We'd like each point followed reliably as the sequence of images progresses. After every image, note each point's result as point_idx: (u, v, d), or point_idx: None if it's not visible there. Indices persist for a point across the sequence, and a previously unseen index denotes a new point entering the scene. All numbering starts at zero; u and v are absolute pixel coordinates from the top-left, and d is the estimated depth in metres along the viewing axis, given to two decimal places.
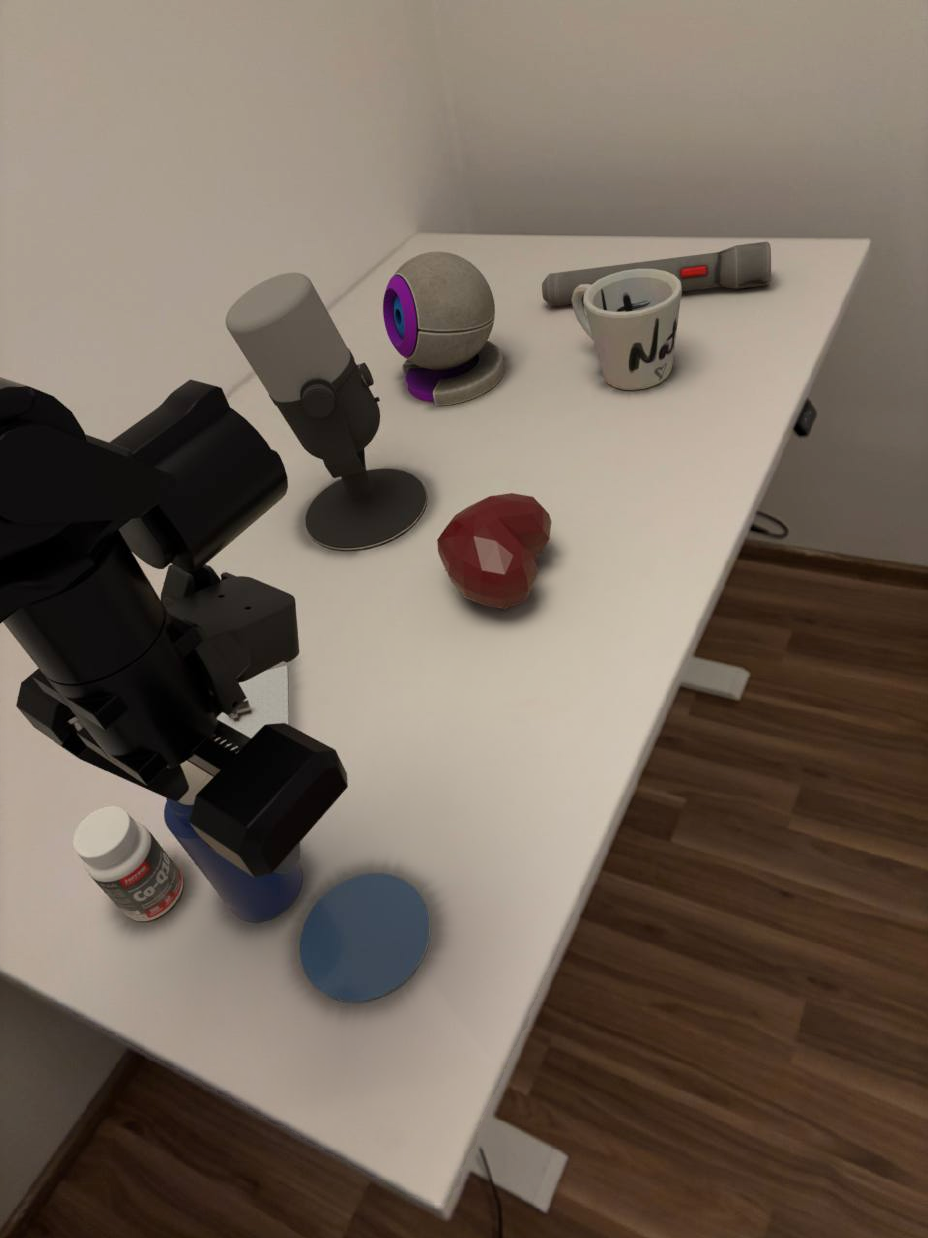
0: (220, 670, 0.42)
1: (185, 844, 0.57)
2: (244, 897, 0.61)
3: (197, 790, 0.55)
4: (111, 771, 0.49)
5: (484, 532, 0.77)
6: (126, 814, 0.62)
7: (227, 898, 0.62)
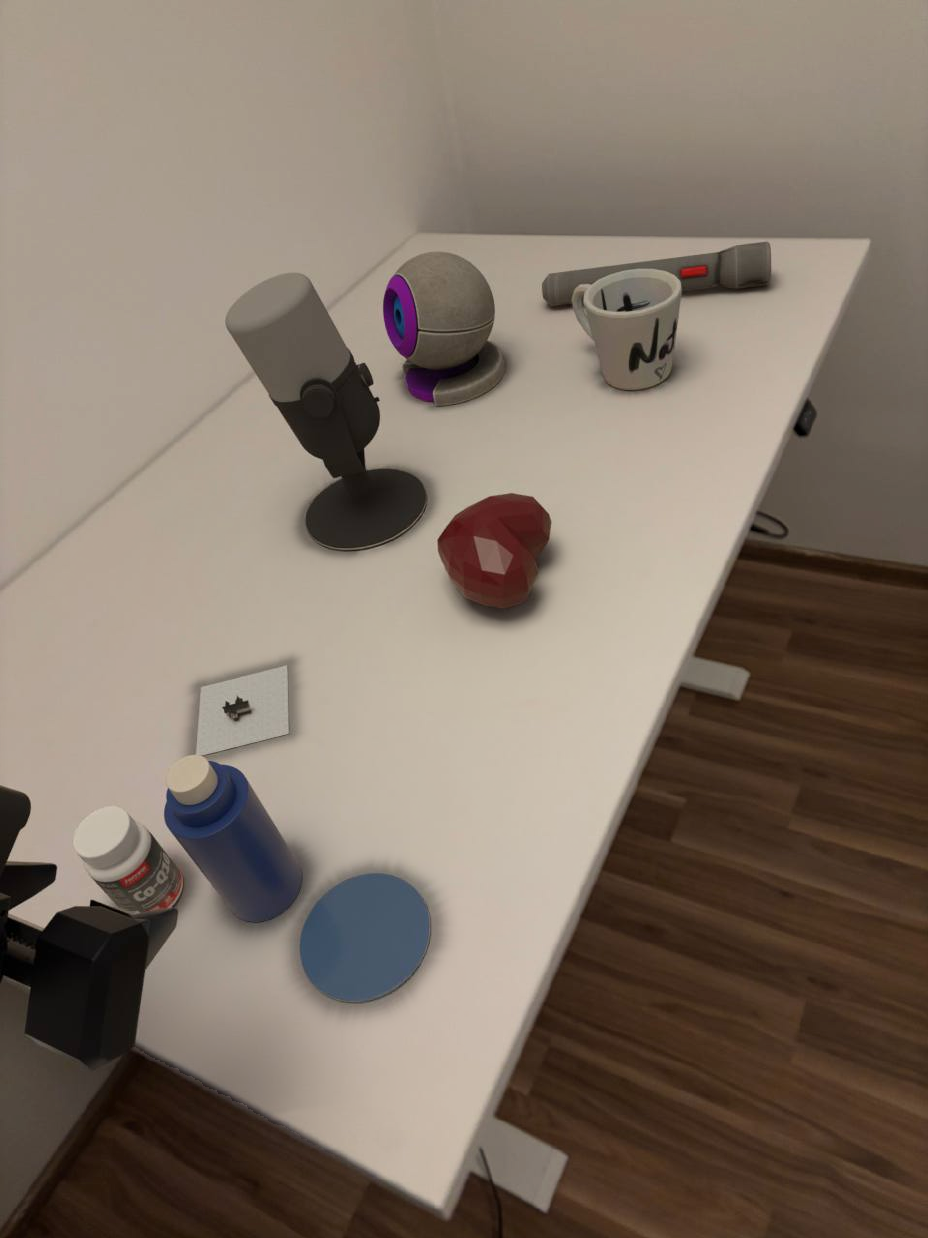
0: None
1: (185, 844, 0.57)
2: (244, 897, 0.61)
3: (197, 790, 0.55)
4: None
5: (484, 532, 0.77)
6: (126, 814, 0.62)
7: (227, 898, 0.62)
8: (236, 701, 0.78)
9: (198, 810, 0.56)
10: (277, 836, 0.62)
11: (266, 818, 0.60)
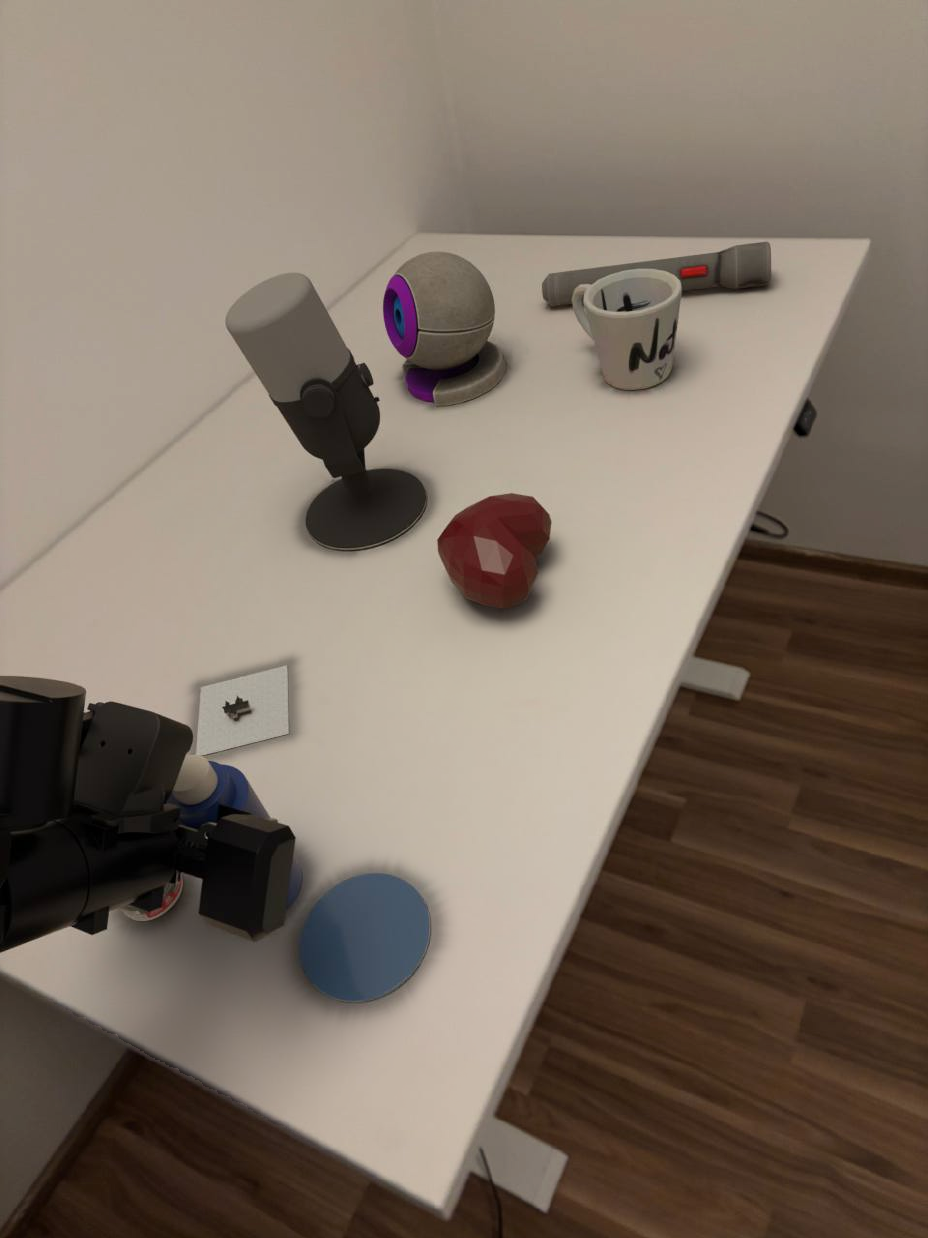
0: (147, 823, 0.49)
1: None
2: None
3: (197, 790, 0.55)
4: None
5: (484, 532, 0.77)
6: None
7: None
8: (236, 701, 0.78)
9: (198, 810, 0.56)
10: None
11: (266, 818, 0.60)
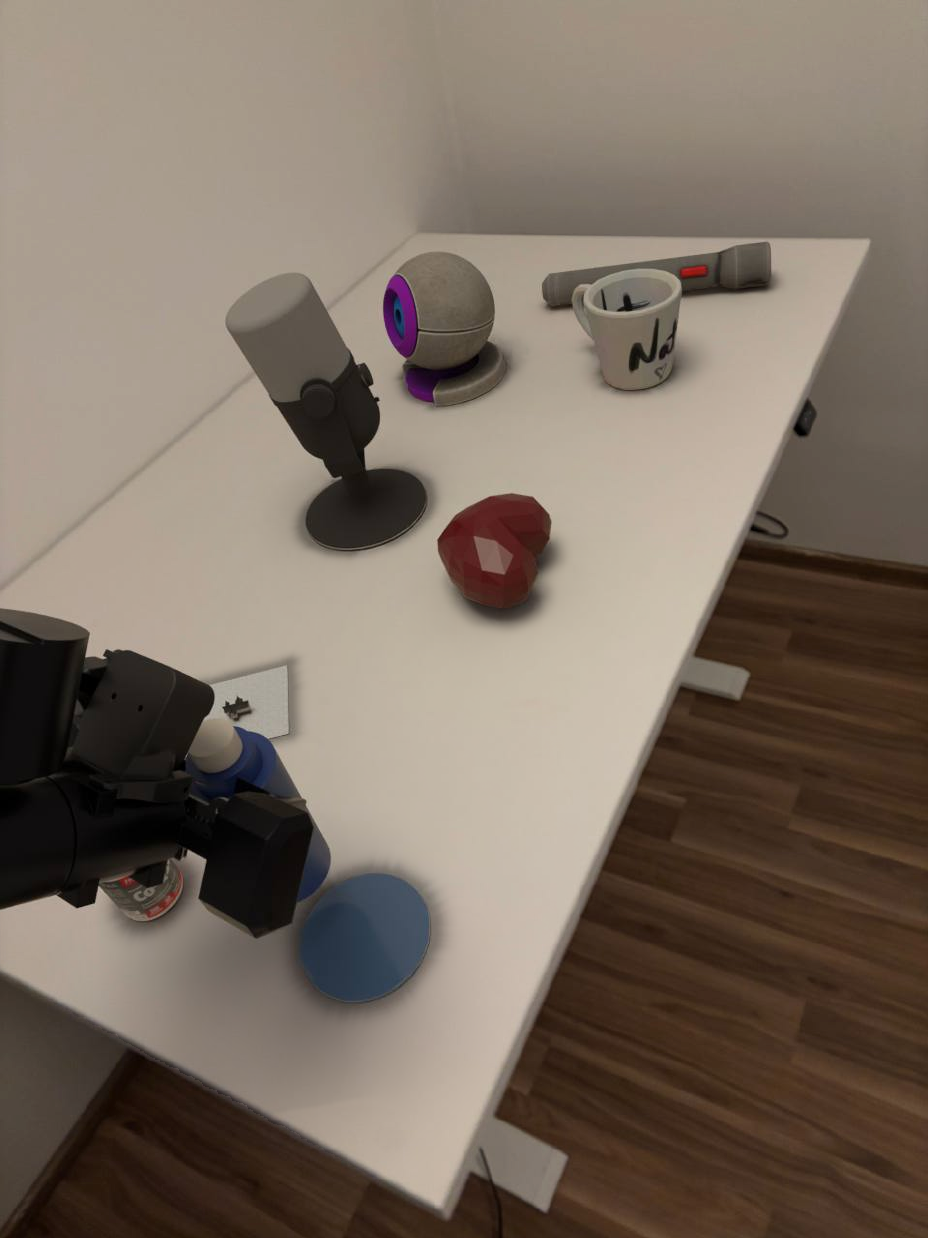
0: (151, 791, 0.44)
1: None
2: None
3: (217, 758, 0.50)
4: None
5: (484, 532, 0.77)
6: None
7: None
8: (236, 701, 0.78)
9: (216, 780, 0.50)
10: None
11: (294, 796, 0.55)
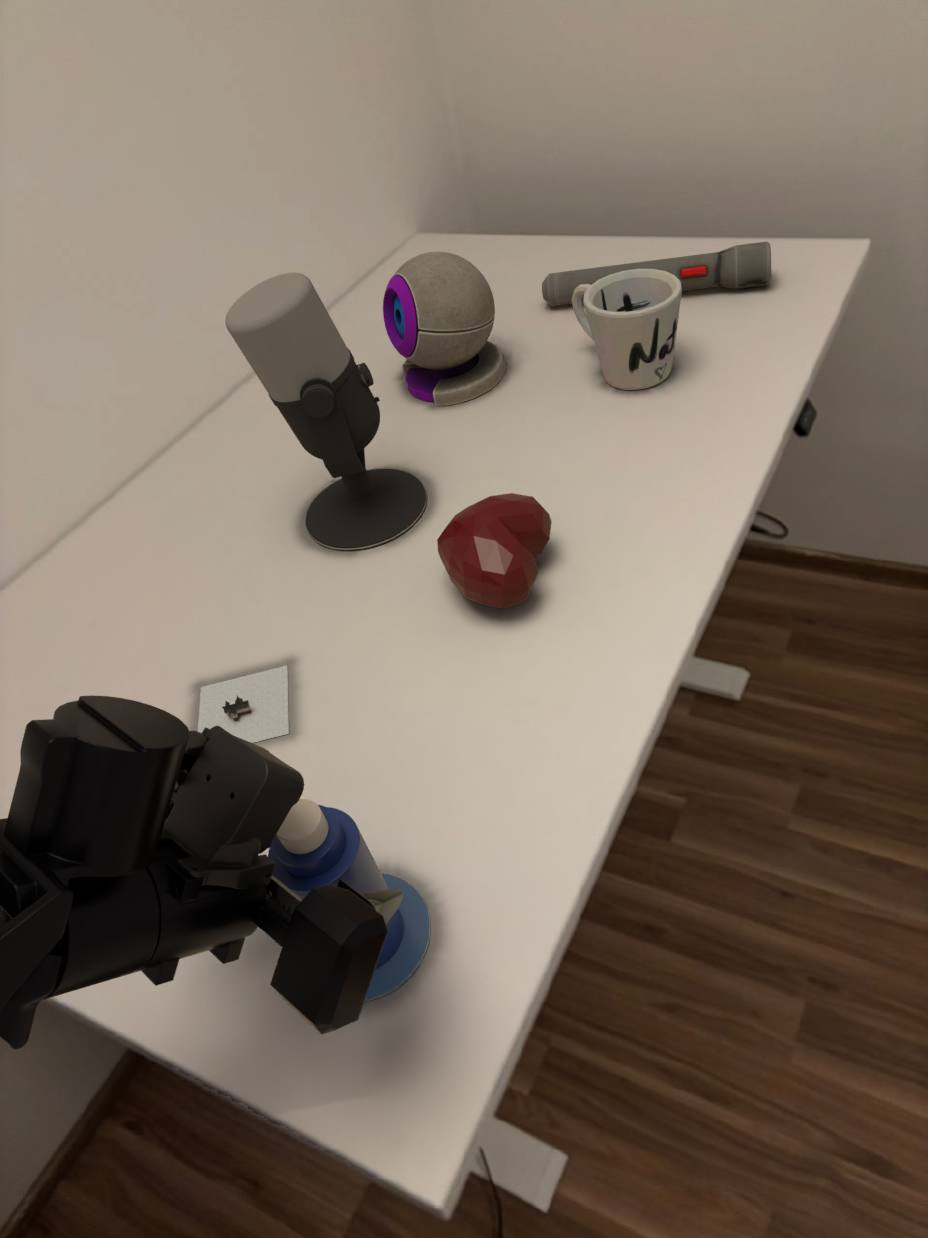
0: (235, 878, 0.45)
1: None
2: None
3: (303, 842, 0.51)
4: None
5: (484, 532, 0.77)
6: None
7: None
8: (236, 701, 0.78)
9: (300, 862, 0.51)
10: None
11: (373, 877, 0.55)
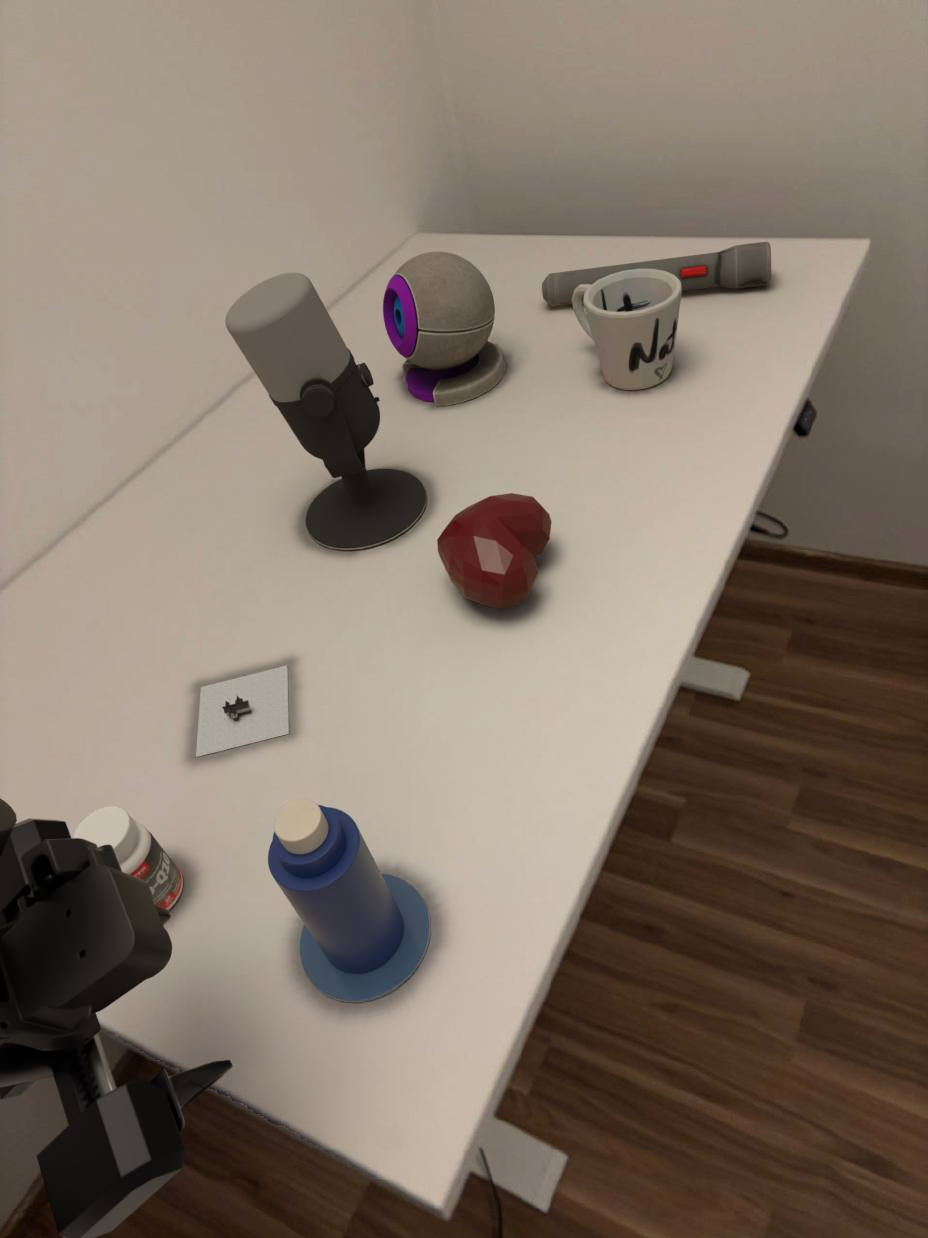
0: (46, 1043, 0.39)
1: (282, 889, 0.53)
2: (336, 949, 0.57)
3: (303, 842, 0.51)
4: None
5: (484, 532, 0.77)
6: (126, 814, 0.62)
7: (319, 944, 0.58)
8: (236, 701, 0.78)
9: (300, 862, 0.51)
10: (383, 895, 0.57)
11: (373, 877, 0.55)
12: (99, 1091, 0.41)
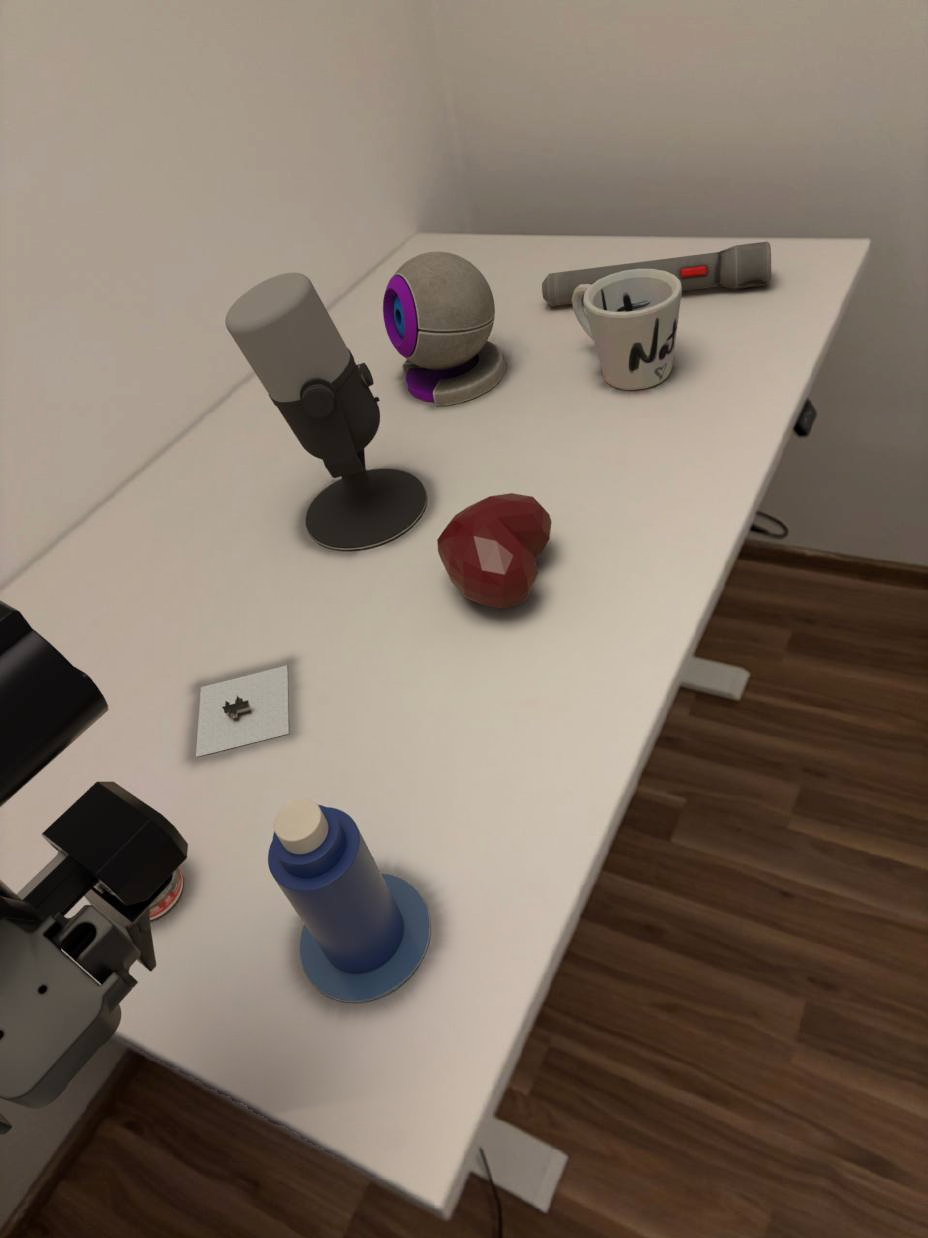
0: None
1: (282, 889, 0.53)
2: (336, 949, 0.57)
3: (303, 842, 0.51)
4: (85, 897, 0.46)
5: (484, 532, 0.77)
6: None
7: (319, 944, 0.58)
8: (236, 701, 0.78)
9: (300, 862, 0.51)
10: (383, 895, 0.57)
11: (373, 877, 0.55)
12: None
